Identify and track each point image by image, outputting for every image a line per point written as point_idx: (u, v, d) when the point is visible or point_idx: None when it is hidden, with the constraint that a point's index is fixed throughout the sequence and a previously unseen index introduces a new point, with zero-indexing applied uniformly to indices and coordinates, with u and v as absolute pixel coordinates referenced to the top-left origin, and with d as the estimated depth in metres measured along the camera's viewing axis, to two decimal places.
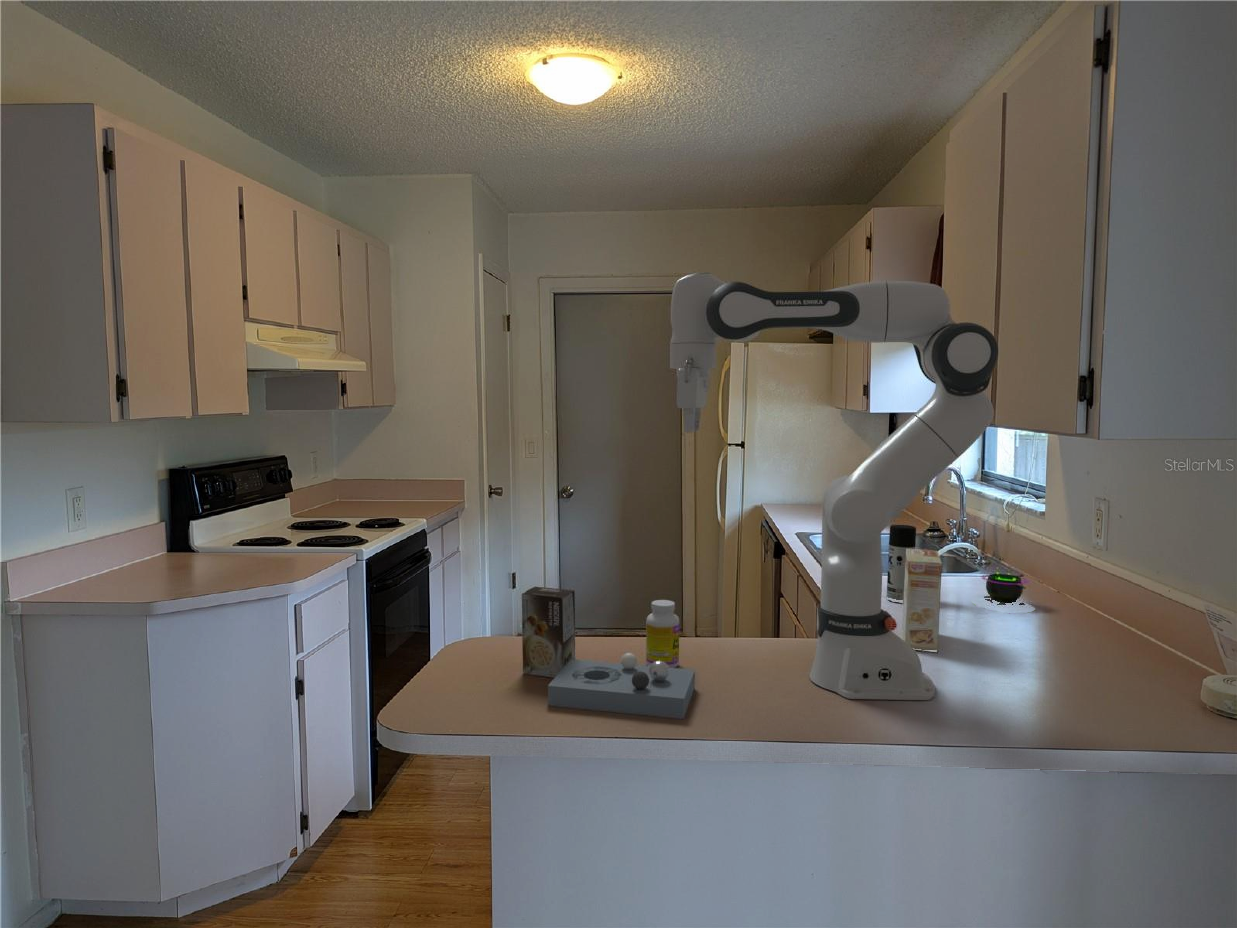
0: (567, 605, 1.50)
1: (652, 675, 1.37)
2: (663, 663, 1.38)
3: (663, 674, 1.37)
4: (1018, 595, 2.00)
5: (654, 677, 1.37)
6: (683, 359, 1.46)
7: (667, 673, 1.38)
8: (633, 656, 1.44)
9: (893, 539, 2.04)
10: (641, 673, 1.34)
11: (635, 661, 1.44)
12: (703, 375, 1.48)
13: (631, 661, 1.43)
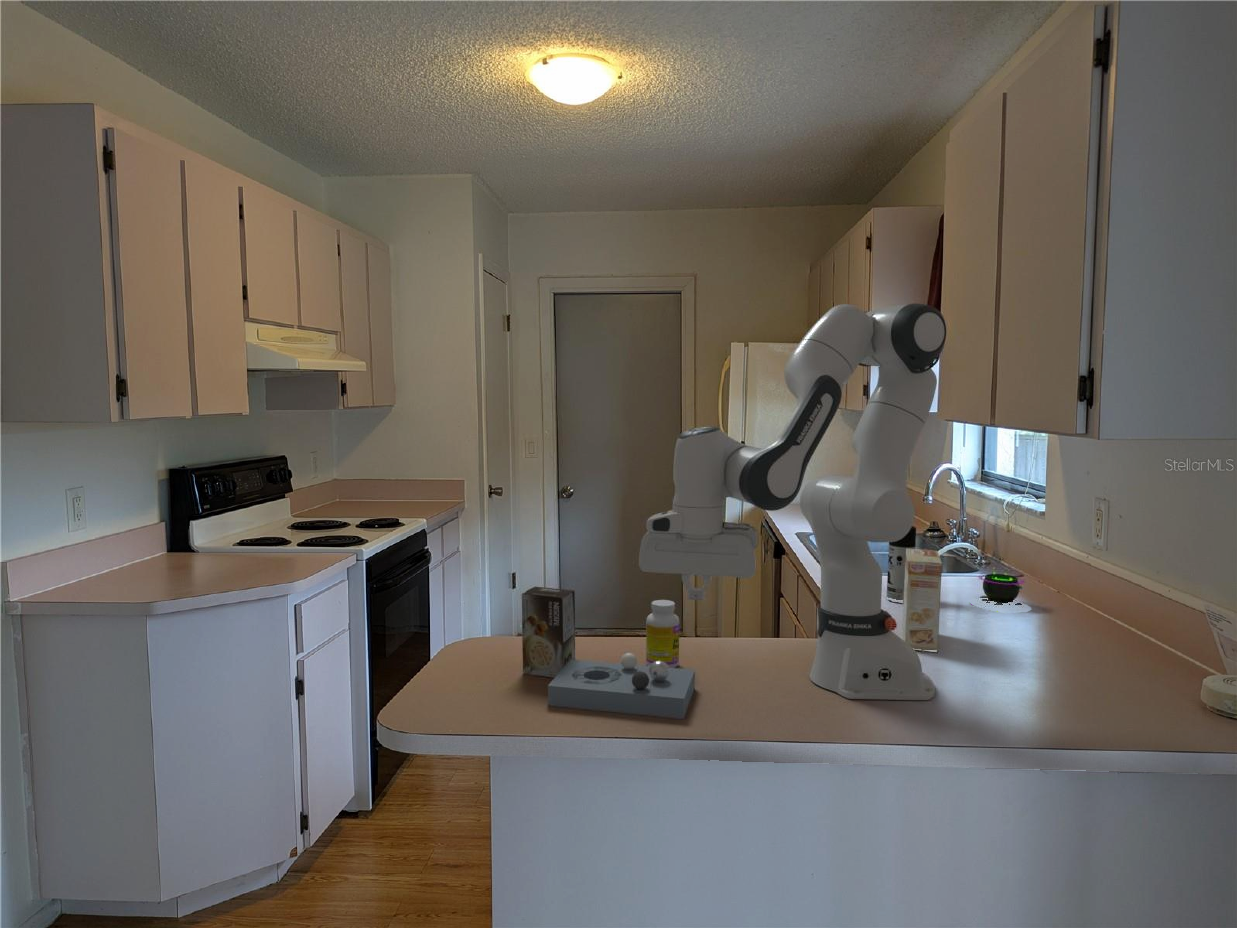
0: (567, 605, 1.50)
1: (652, 675, 1.37)
2: (663, 663, 1.38)
3: (663, 674, 1.37)
4: (1015, 595, 2.00)
5: (654, 677, 1.37)
6: (721, 524, 1.32)
7: (667, 673, 1.38)
8: (633, 656, 1.44)
9: None
10: (641, 673, 1.34)
11: (635, 661, 1.44)
12: None
13: (631, 661, 1.43)
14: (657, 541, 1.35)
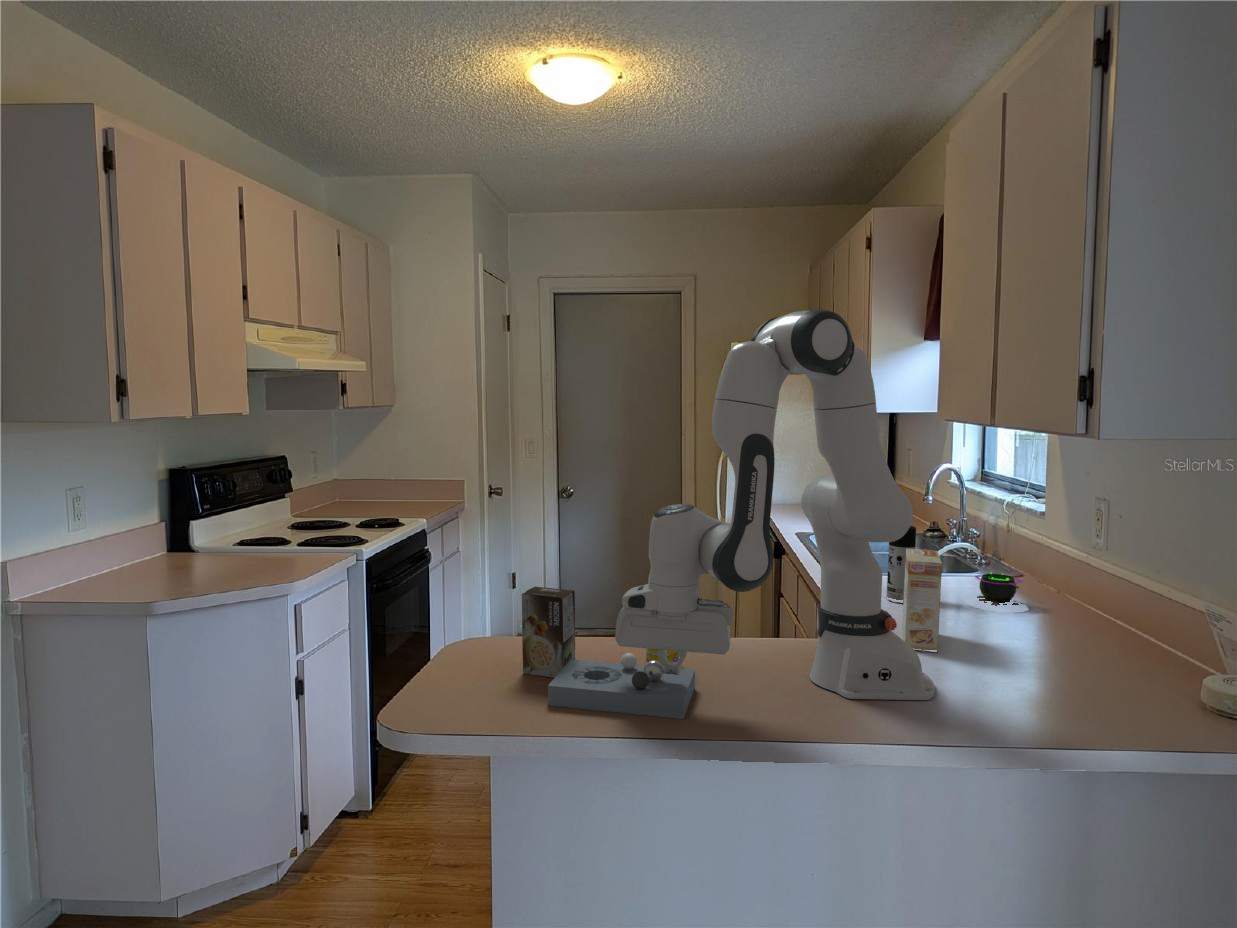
0: (567, 605, 1.50)
1: (649, 677, 1.38)
2: (653, 661, 1.38)
3: (657, 671, 1.37)
4: (1012, 595, 2.00)
5: (651, 678, 1.37)
6: (695, 601, 1.34)
7: (661, 668, 1.38)
8: (633, 656, 1.44)
9: None
10: (641, 673, 1.34)
11: (635, 661, 1.44)
12: None
13: (631, 661, 1.43)
14: (633, 617, 1.37)
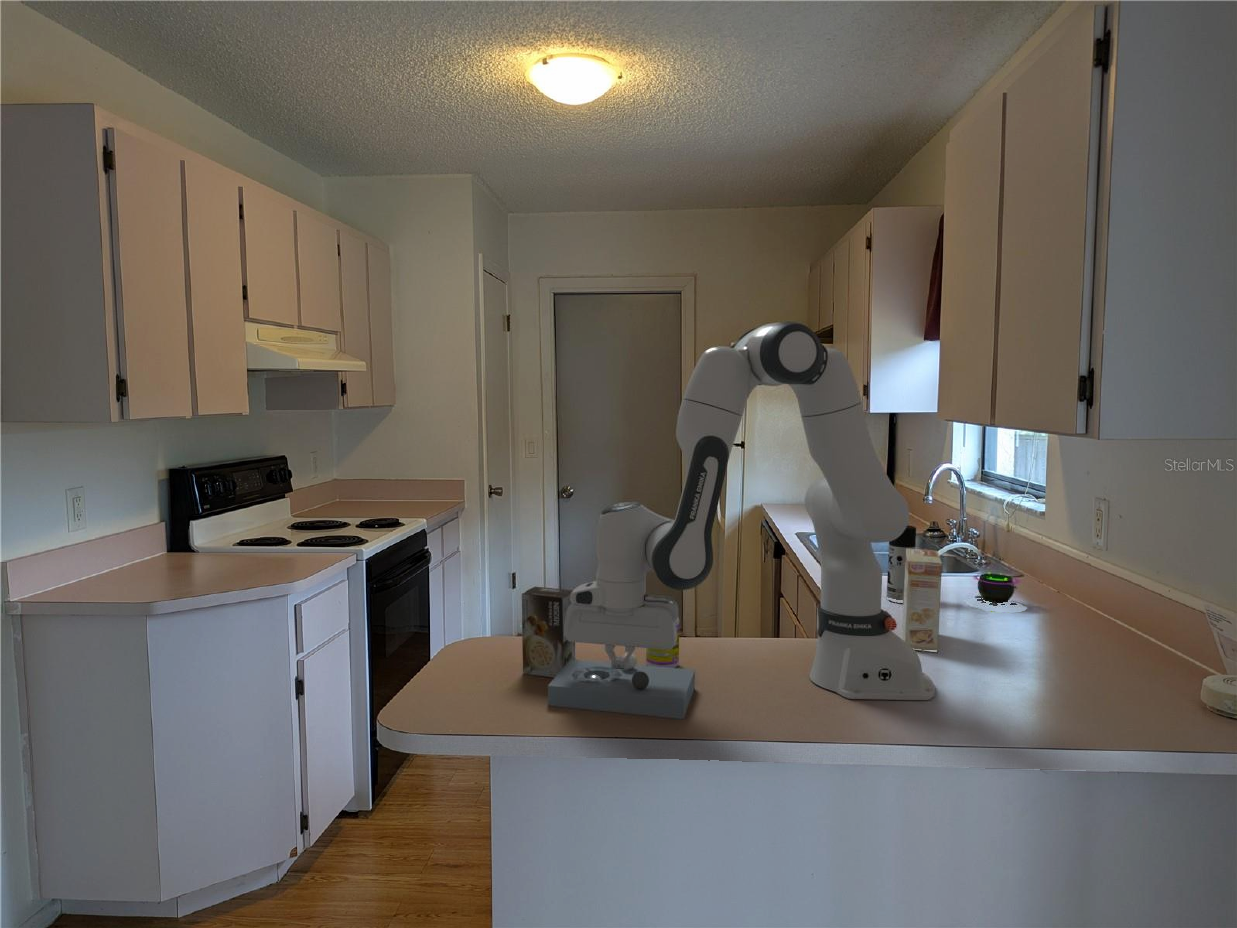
0: (567, 605, 1.50)
1: None
2: None
3: None
4: (1010, 595, 2.00)
5: None
6: (642, 597, 1.37)
7: (592, 677, 1.41)
8: (633, 656, 1.44)
9: None
10: (641, 673, 1.34)
11: (635, 661, 1.44)
12: None
13: (631, 661, 1.43)
14: (581, 613, 1.39)
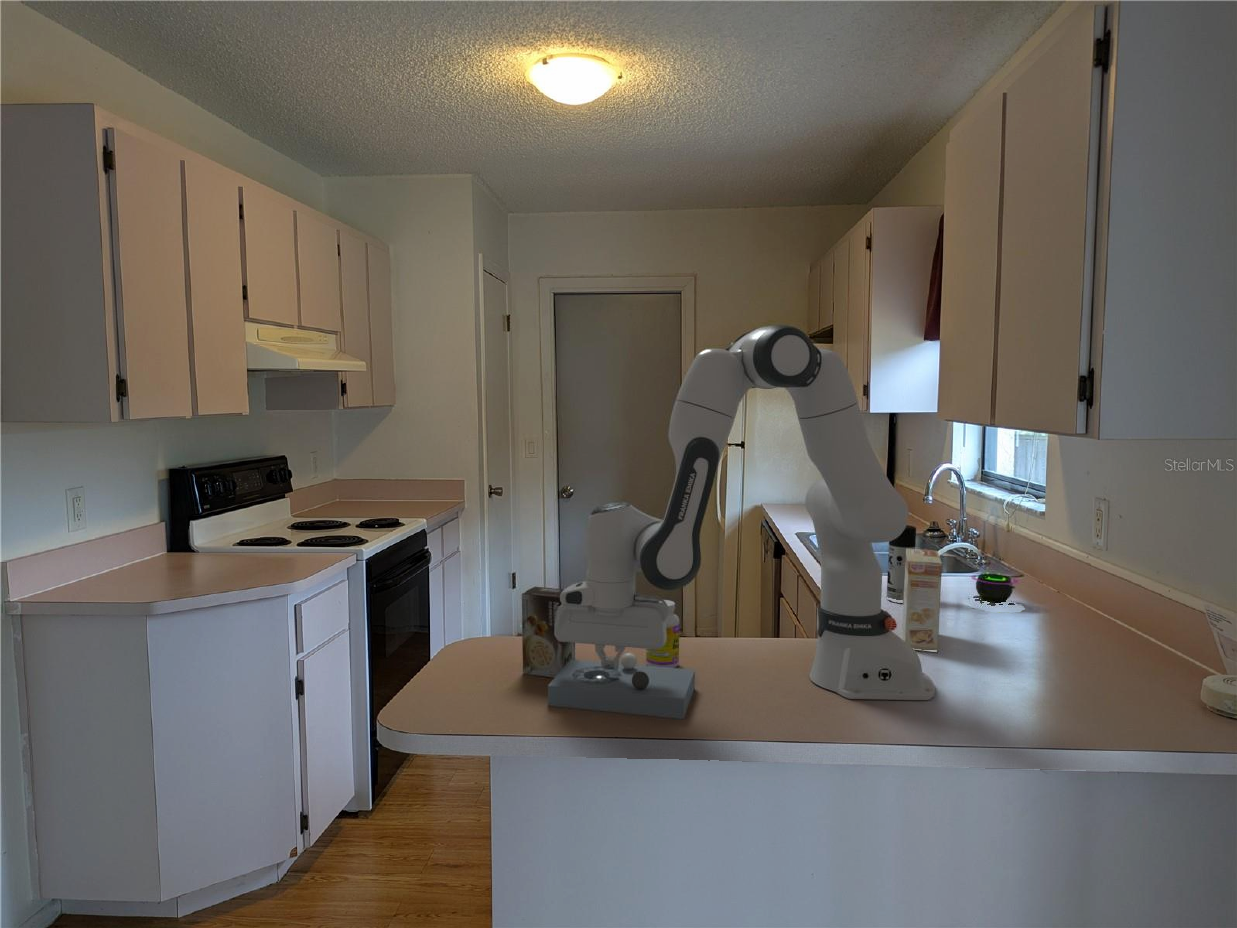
0: None
1: None
2: (593, 677, 1.41)
3: None
4: (1008, 595, 2.00)
5: None
6: (631, 597, 1.37)
7: (602, 679, 1.40)
8: (633, 656, 1.44)
9: None
10: (641, 673, 1.34)
11: (635, 661, 1.44)
12: None
13: (631, 661, 1.43)
14: (571, 613, 1.40)
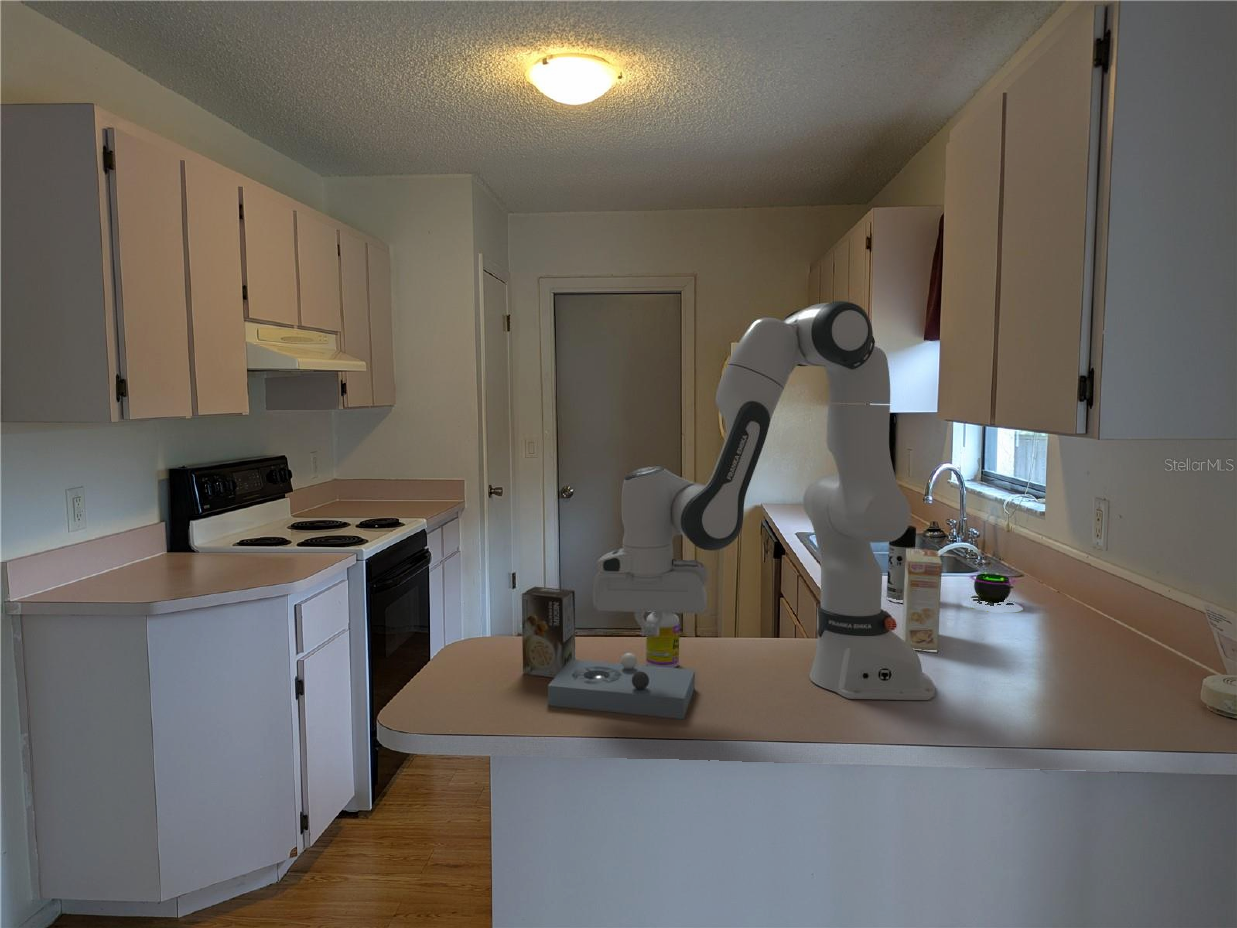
0: (567, 605, 1.50)
1: None
2: (592, 678, 1.41)
3: None
4: (1006, 595, 2.00)
5: None
6: (670, 561, 1.35)
7: (601, 679, 1.40)
8: (633, 656, 1.44)
9: None
10: (641, 673, 1.34)
11: (635, 661, 1.44)
12: None
13: (631, 661, 1.43)
14: (609, 581, 1.38)
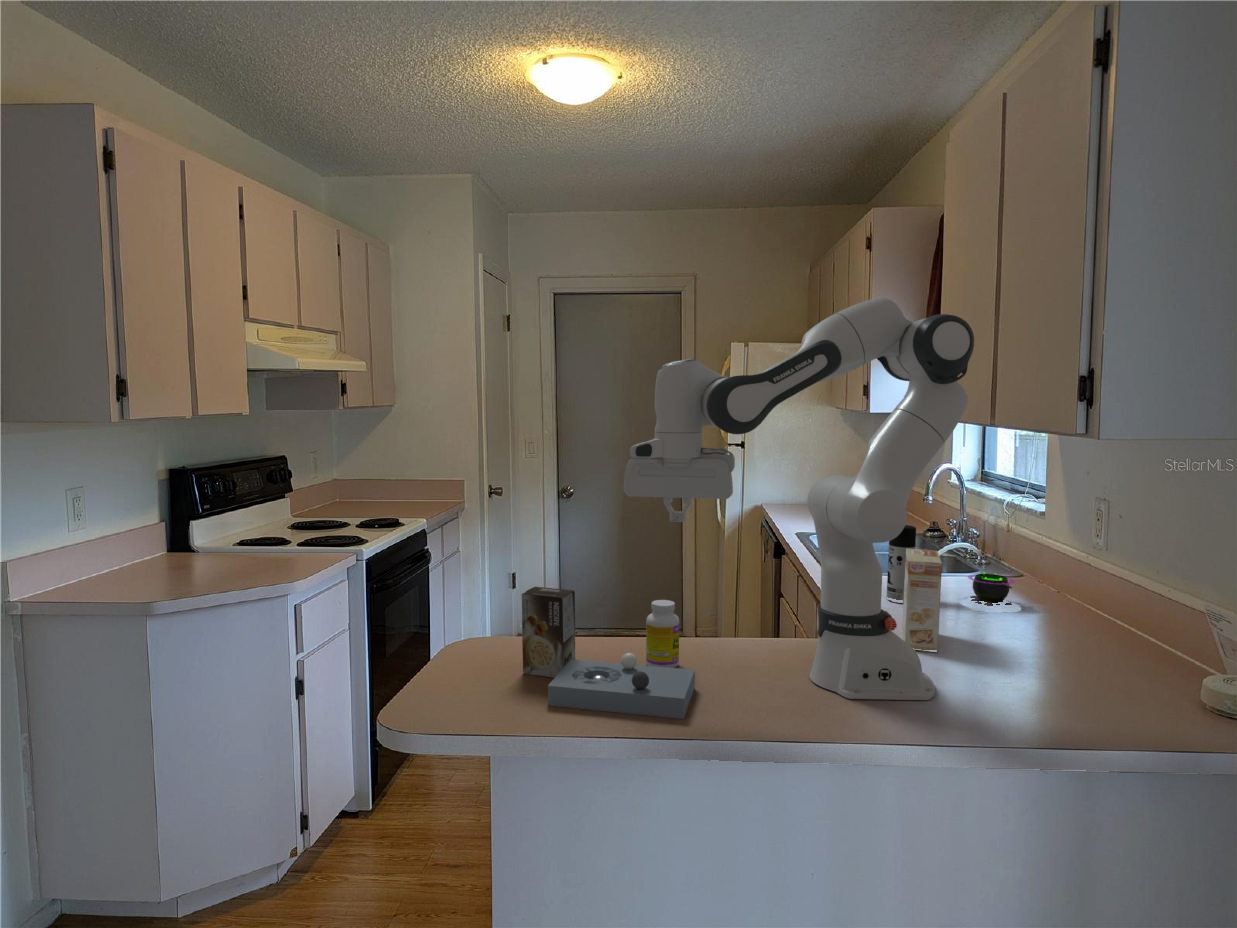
0: (567, 605, 1.50)
1: None
2: (591, 678, 1.41)
3: None
4: (1005, 595, 2.00)
5: None
6: (699, 449, 1.42)
7: (600, 678, 1.40)
8: (633, 656, 1.44)
9: (893, 539, 2.04)
10: (641, 673, 1.34)
11: (635, 661, 1.44)
12: None
13: (631, 661, 1.43)
14: (640, 467, 1.44)
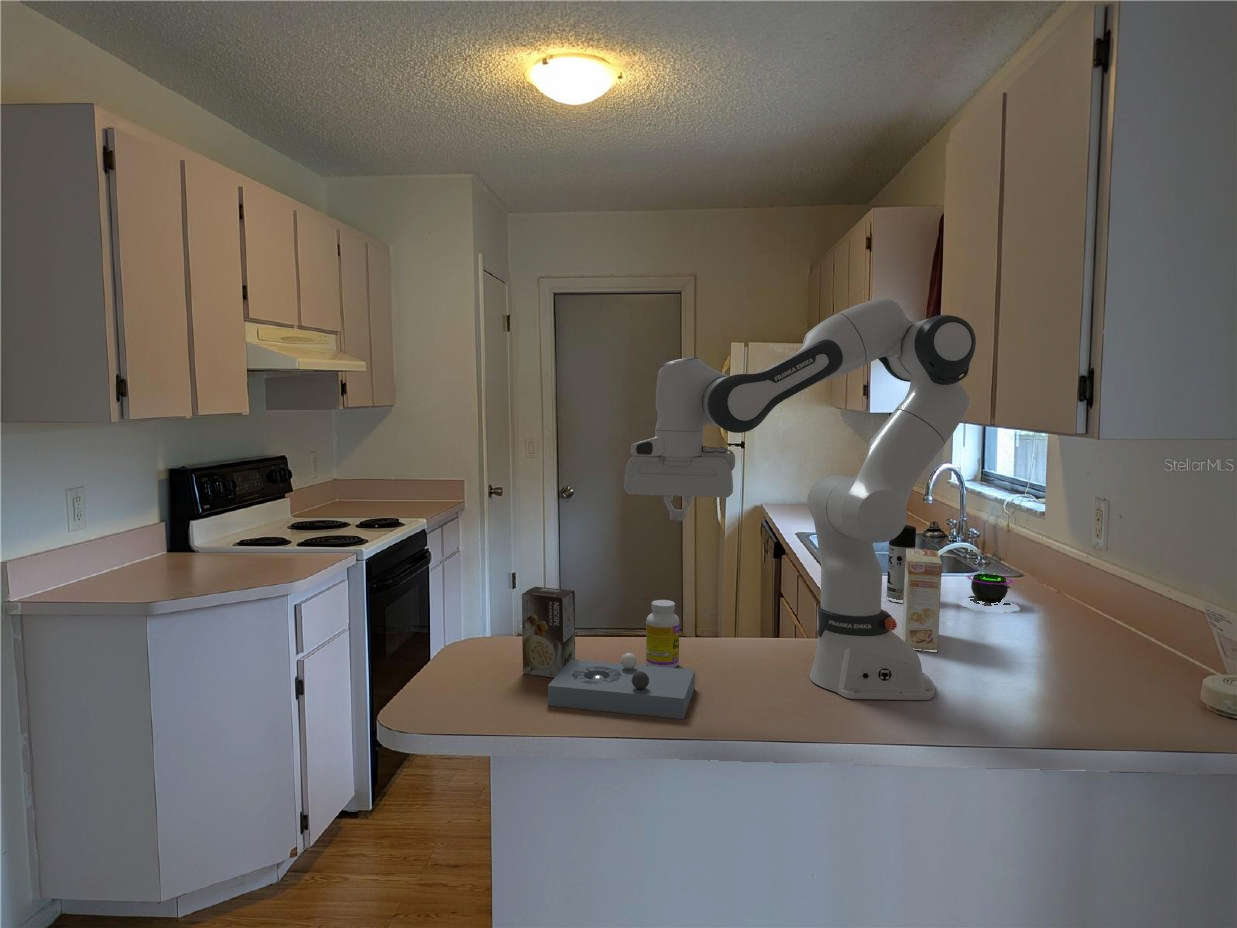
0: (567, 605, 1.50)
1: None
2: (590, 678, 1.41)
3: None
4: (1003, 595, 2.00)
5: None
6: (700, 447, 1.42)
7: (599, 678, 1.40)
8: (633, 656, 1.44)
9: (893, 539, 2.04)
10: (641, 673, 1.34)
11: (635, 661, 1.44)
12: None
13: (631, 661, 1.43)
14: (641, 465, 1.45)
